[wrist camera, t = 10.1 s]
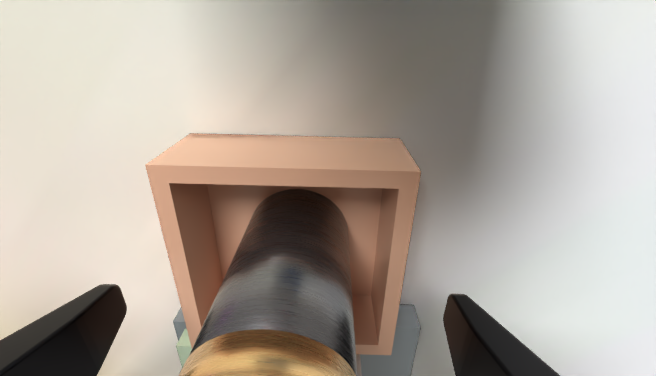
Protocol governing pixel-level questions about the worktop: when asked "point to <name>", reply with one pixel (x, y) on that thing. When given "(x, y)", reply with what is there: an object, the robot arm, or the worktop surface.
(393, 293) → the salmon pink square tray
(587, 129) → the worktop surface
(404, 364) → the grey flat block
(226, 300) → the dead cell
